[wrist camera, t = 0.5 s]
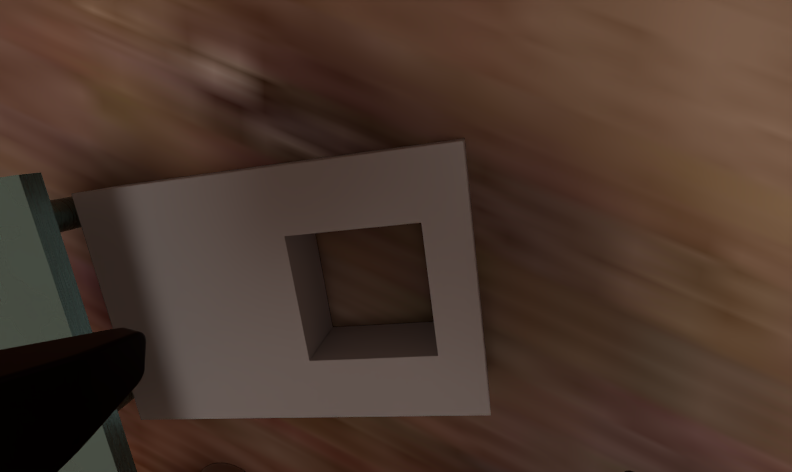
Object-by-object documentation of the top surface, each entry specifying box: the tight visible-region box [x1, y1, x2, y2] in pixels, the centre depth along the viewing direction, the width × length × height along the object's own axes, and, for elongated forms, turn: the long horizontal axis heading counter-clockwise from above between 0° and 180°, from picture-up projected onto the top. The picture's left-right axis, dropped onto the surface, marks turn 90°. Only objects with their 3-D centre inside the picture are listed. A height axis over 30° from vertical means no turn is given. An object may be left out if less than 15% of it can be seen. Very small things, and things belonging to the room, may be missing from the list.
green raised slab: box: [0, 173, 137, 472], centre depth 21 cm, size 14×6×8 cm, turn 8°
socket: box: [72, 138, 491, 420], centre depth 21 cm, size 12×18×4 cm, turn 98°
